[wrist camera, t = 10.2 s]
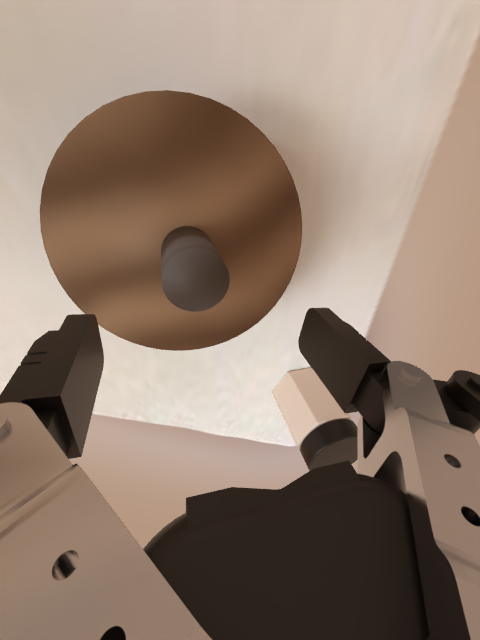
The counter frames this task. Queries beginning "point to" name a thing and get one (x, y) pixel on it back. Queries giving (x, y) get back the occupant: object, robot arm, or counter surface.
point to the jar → (316, 420)
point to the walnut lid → (171, 220)
